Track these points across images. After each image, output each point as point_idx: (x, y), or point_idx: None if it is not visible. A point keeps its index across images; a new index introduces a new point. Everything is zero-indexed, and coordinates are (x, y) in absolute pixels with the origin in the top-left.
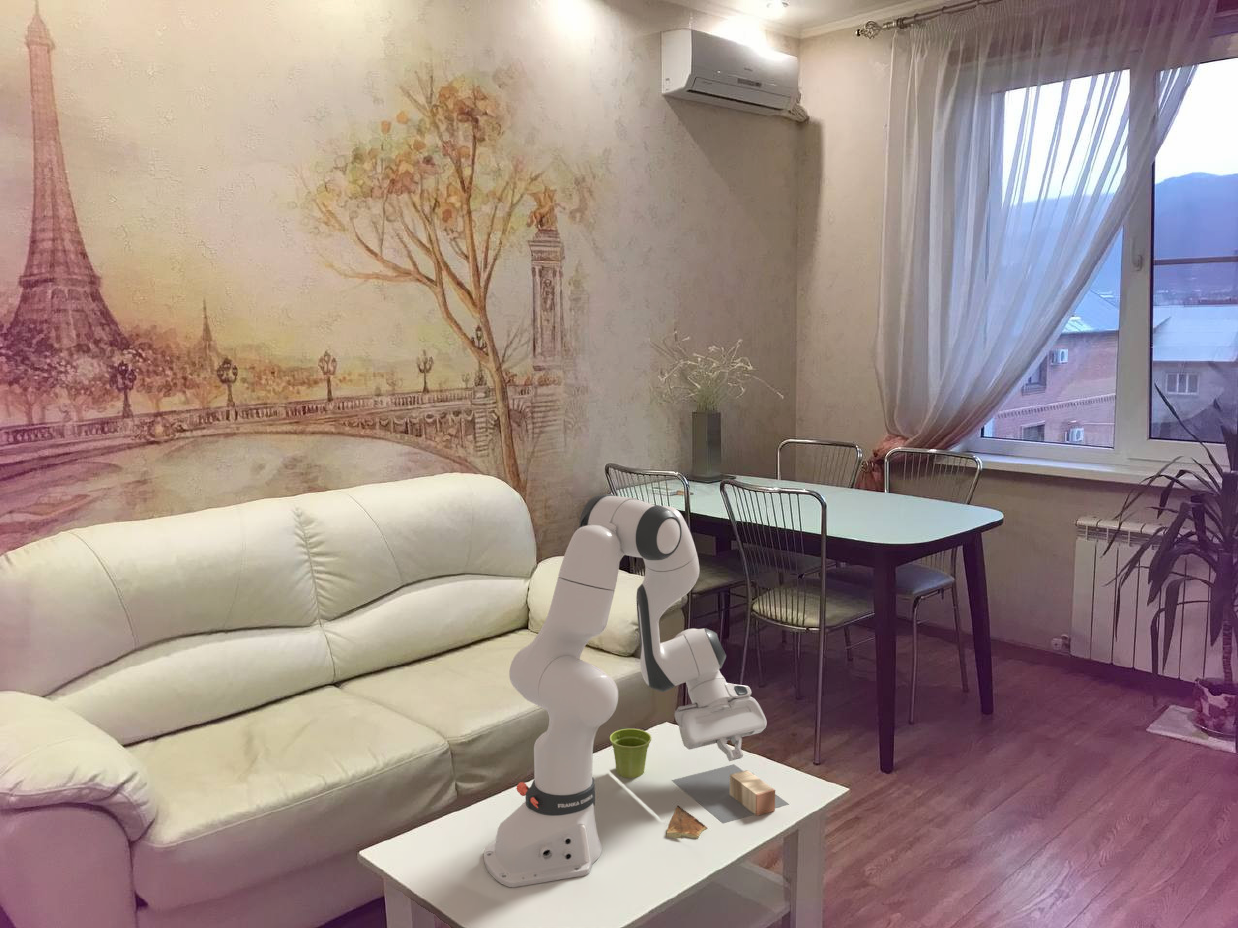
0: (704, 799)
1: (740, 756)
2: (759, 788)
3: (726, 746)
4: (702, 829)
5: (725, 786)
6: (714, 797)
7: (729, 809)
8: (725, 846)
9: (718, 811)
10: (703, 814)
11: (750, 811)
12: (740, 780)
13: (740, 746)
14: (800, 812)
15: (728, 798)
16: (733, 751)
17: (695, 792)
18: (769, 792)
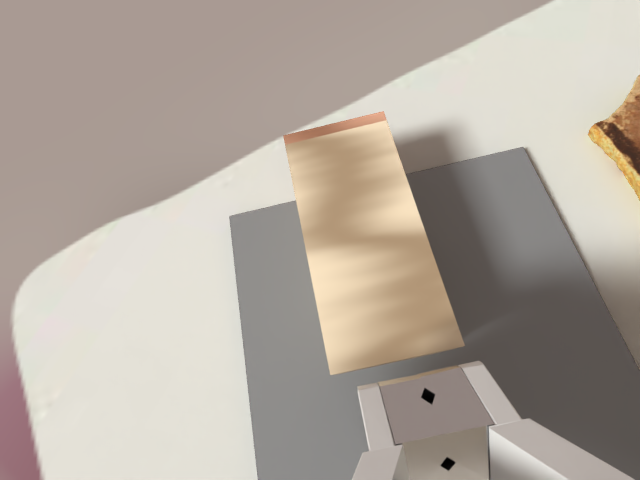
0: (575, 339)
1: (384, 382)
2: (348, 162)
3: (577, 464)
4: (619, 108)
5: None
6: (520, 344)
7: (472, 229)
8: (534, 54)
9: (524, 224)
10: (586, 241)
11: None
12: (419, 257)
13: (364, 466)
14: (218, 180)
15: None
16: (463, 410)
17: (619, 427)
18: (316, 130)
